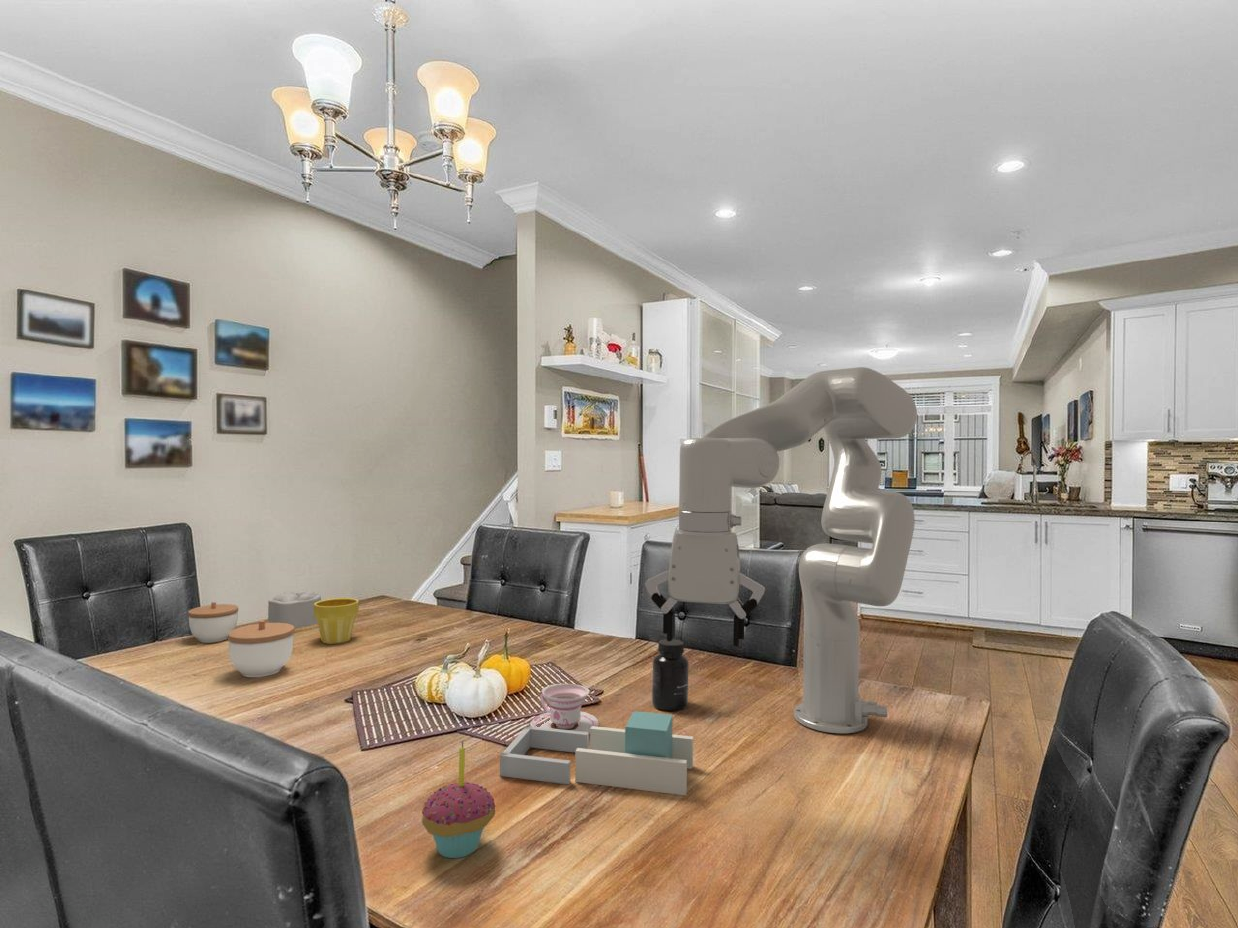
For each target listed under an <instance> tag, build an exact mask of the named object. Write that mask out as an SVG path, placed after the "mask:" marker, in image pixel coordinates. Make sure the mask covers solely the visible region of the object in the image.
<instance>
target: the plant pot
mask: <svg viewBox="0 0 1238 928" xmlns="http://www.w3.org/2000/svg"><path fill="white" fill-rule="evenodd" d="M359 601H360V600H359V599H357V598H351V597H342V598H341V597H338V598H329V599H328V598H327V599H324V600H322V599H321V601H318V602H316V603H314V617H315V618H316V619H317V622H318V623H317V626H318V630H319V635H320V638H321V639H320V640H321V642H322V643H323V644H327V645H336V644H343V643H347V642H349V641H351V638H352V634H353V630H354V625H355V620H356V616H357V615H358V614H359V610H360V609H359V608H360V607H359V605H360V603H359Z"/></svg>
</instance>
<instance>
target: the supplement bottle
mask: <svg viewBox="0 0 1238 928" xmlns="http://www.w3.org/2000/svg"><path fill="white" fill-rule="evenodd" d="M657 646H658V648H657V653H658V654H657V655H655V656H654V657H653V660H652V679H651V680H652V681H651V682H652V683H651V685H652V686H651V687H652V688H651V690H652V691H651V702H652V705H653V707H655V709H658V710H661V711H667V712H678V711H682V710H684V709H686V708H687V707H688V703H689V672H690V671H689V667H690V664H689V659H688V658H687V657H686V656H685V655H683V654H684V653H685V648H684V647H685V644H684V642H683V641H682V640H680V639H675V638H673V640H672V641H671V642H670V641H667V638H664V639H660V640H659V641H658V645H657Z"/></svg>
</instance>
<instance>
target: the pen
mask: <svg viewBox="0 0 1238 928" xmlns="http://www.w3.org/2000/svg"><path fill="white" fill-rule="evenodd" d="M571 730H572V729H571ZM571 730H570V729H560V728H552V727H551V728H543V727H533V726H530V725H526V726H525V727H524V728H523V729H522V731H520V732H519V734H518V735H517V736H516V737H515V738H514V739H513V741H512V742H511V743H510V744H509V745H508V746H507V747H506V748H505V749H504V751H503V752H501V754H499V777H506V778H514V779H522V780H529V781H530V780H531V781H538V782H545V783H554V784H562V785H569V784H570V782H571V760H569V759H561V758H560V759H559V758H554V757H553V758H551V757H542V756H537V755H536V756H534V755H526V753H528V751H529V749H531V748H534V749H542V750H549V751H550V750H551V751H558V752H569V753H575V752H576V749H577V748H583V749H590V734H589V732H580V731H571Z"/></svg>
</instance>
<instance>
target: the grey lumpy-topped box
mask: <svg viewBox="0 0 1238 928" xmlns="http://www.w3.org/2000/svg"><path fill="white" fill-rule="evenodd" d="M318 601H322V596H321V594H320V593H319V592H318V593H315V591H311V590H310V591H309V590H306V589H304V590H303V589H302V590H300V591H298V592H294V591H291V590H287V591H285V592H283V593H282V594H277V595H275V596H274V597H272V598H269V600H268V601H267V602H268V604H267V605H268V607H267V610H268V611H267V612H268V613H267V615H268V617H267V620H268V621H267V623H287V624H291V625H293V626H294V629H295V630H296V629H301V628H306V627H310V626H314V625H316V624H317V625H318V622H317V619H316V618H315V617H314V603H316V602H318Z"/></svg>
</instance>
